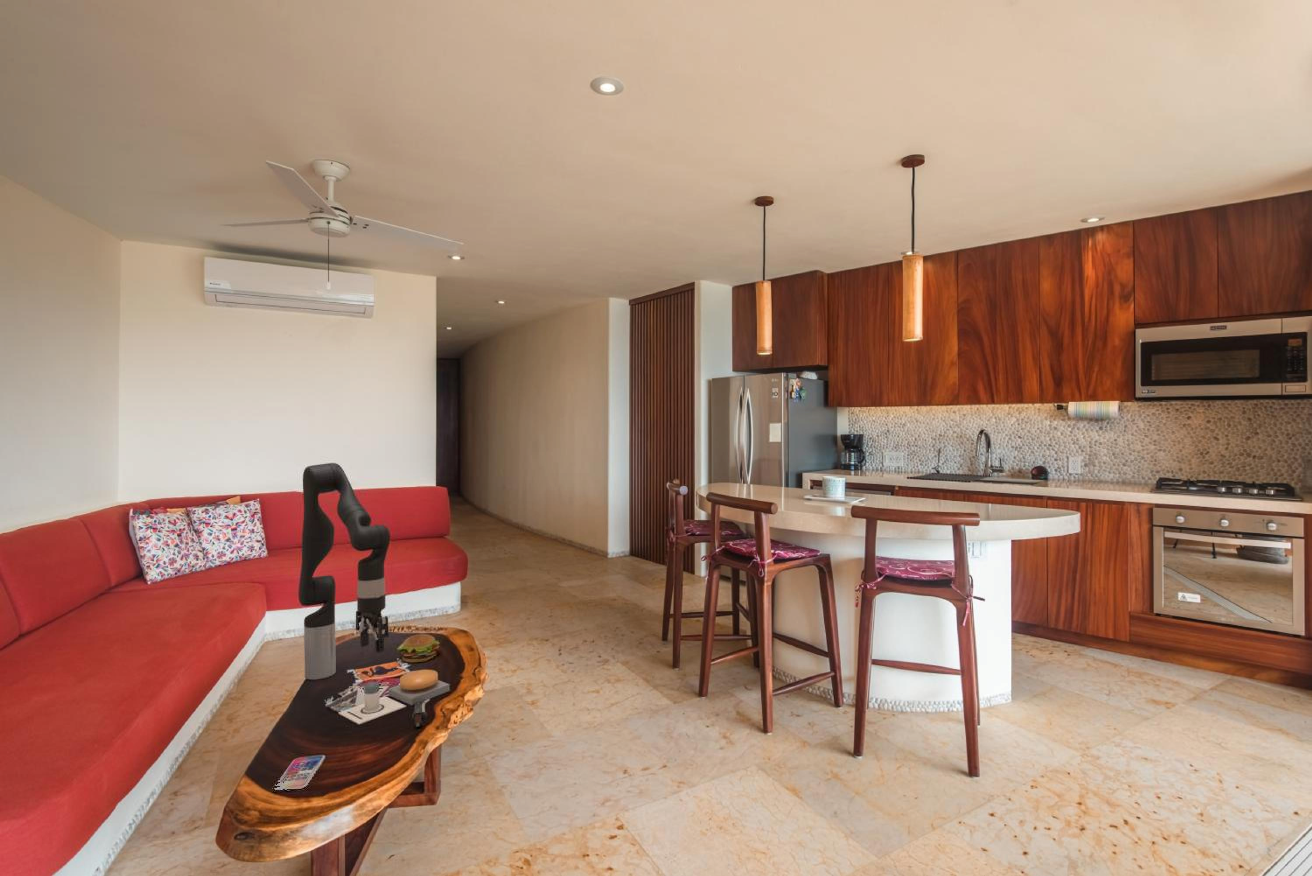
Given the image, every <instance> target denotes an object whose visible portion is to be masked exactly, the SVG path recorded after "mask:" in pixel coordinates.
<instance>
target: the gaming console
mask: <svg viewBox="0 0 1312 876" xmlns="http://www.w3.org/2000/svg"><path fill="white" fill-rule="evenodd" d="M381 682H382V683H379V684H381V685H382V686H381V685H380V686H379V688H383V689H379V698H381V697H383V696H382V695H383V694H384V693H386V691H388V689H389V688H391V686H392V685H393V684H394V683H395V681H394V682H387V681H381ZM385 684H390V685H387V686H385ZM391 684H392V685H391ZM364 685H365V684H364ZM364 685H360V686H359V687H358V688H361V689H358V688H357V692H356V693H357V694H356V698H355V704H354V707H355V706H358V705H361V704H364V692H363V691H364V690H363V689H362V688H364ZM355 691H356V690H355ZM355 691H354V692H352V693H351V694H350V695H349V696H348V697H347V698H346V700H348V699H349V698H350V697H351V696H352V695H353V694H354V693H355ZM361 691H362V692H361ZM380 691H381V692H380ZM342 707H343V708H342ZM350 708H353V706H347V705H339V706H338V707H336V709H338V710H340V712H341V711H344V710H347V709H350Z"/></svg>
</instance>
